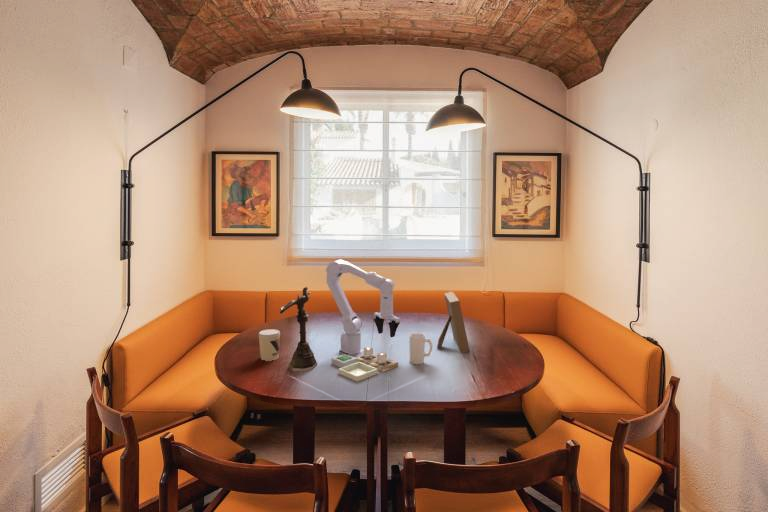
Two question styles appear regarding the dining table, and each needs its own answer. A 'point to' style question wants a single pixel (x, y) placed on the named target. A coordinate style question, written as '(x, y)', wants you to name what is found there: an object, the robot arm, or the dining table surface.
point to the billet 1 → (368, 353)
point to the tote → (358, 371)
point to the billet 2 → (382, 358)
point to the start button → (344, 358)
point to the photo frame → (455, 323)
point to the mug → (418, 348)
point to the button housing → (343, 363)
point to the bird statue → (301, 337)
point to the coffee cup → (269, 344)
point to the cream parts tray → (374, 363)
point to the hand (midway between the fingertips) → (386, 334)
